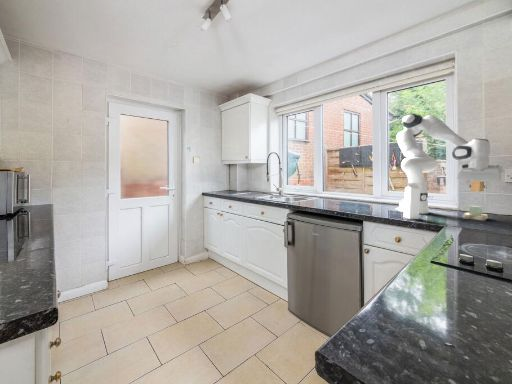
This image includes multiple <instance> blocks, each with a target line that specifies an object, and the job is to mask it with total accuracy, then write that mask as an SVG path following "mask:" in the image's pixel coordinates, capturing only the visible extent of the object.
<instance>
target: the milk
mask: <svg viewBox="0 0 512 384" xmlns="http://www.w3.org/2000/svg"><path fill="white" fill-rule="evenodd" d="M403 195H404V197H403V199H404V212H403V216H402V217H403V218H404V217H405V219H408V220H419V219H420V213H419V206H420V187H418V186H417V183H409V182H408V183H407V186H405V187H404V194H403Z"/></svg>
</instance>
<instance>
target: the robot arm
mask: <svg viewBox="0 0 512 384" xmlns="http://www.w3.org/2000/svg"><path fill="white" fill-rule="evenodd" d="M401 125H402V127H403V129H402V130H401V131H399V132H398V133H397V134H396V143H397V145H398V147H399V149H400V150H401V151H400V152H401V153H402V154H403V156H404V157H405V158H404V159H402V161H401V162H400V167H401V170H402V171H403V172H404V173H405V175H406V177H407V180H408V181H407V182H408V183H417V186H418V187H420V206H419V215H420V214H421V215H422V214H425V215H426V214H429V213H430V210H429V201H428V198H429V197H428V196H429V195H428V194H429V193H428V181H427V180H426V179H425V178H424V176H423V174H427V173H431V172H435V171H436V170H437V168H438V166H439V165H438V160H437V159H436V158H433V157H432V156H430V155H428V153H427V152H425V151H424V150H423V149H422V147H420V145H419V143H418V141H417V140H416V137H417V136H419V135H421V134H422V132H423V131H424V132H426V133H427V135H428V136H430V137H431V138H432V139H435V140H437V141H442V142H446V143H449V144H451V145H453V146H454V148H453V150H452V152H451V153H452V154H451V155H452V158H453V159H454V160H457V161H465V162H467V163H464V164H460V165H459V169H458V170H457V173H456V180H458V181H466V185H467V188H470V189H471V181H485V183H486V184H484V185H483V188H484V189H488V187H487V186H488V185H489V184H490V183H491V182H499V181H501V180H502V172H503V166H502V165H499V164H497V165H494V164H493V165H492V164H490V157H489V156H490V154H491V143H490V140H488V139H486V138H473V139H471V140H470V141H469V142H468V141H467V140H466V139H465V138H463V137H461V136H460V135H458V133H456V132H455V131H454V130H453V129H452V128H451V127H449V126H448V125H447V124H446V123H445V122H443V121H442V120H441V119H440V118H438V117H437V116H434V115H432V114H430V115H429V114H428V115H426V116H424V117H423V116H422V115H420V114H416V113H407V114H405V115H404V116H403V117H402V120H401ZM395 210H396V211H398V212H401V213H404V198H403V199H402V200H400V201H399V204H398V207H396V208H395Z"/></svg>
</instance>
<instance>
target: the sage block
mask: <svg viewBox="0 0 512 384" xmlns="http://www.w3.org/2000/svg"><path fill="white" fill-rule="evenodd" d="M468 213H469V214H471V215H482V214H483V206H481V205H480V206H479V205H469V212H468Z"/></svg>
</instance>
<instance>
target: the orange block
mask: <svg viewBox="0 0 512 384" xmlns="http://www.w3.org/2000/svg"><path fill="white" fill-rule="evenodd" d="M485 183H486V181H478V180H470V185H471V188H470V192H485V191H484V190H485V188H483V185H485Z"/></svg>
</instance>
